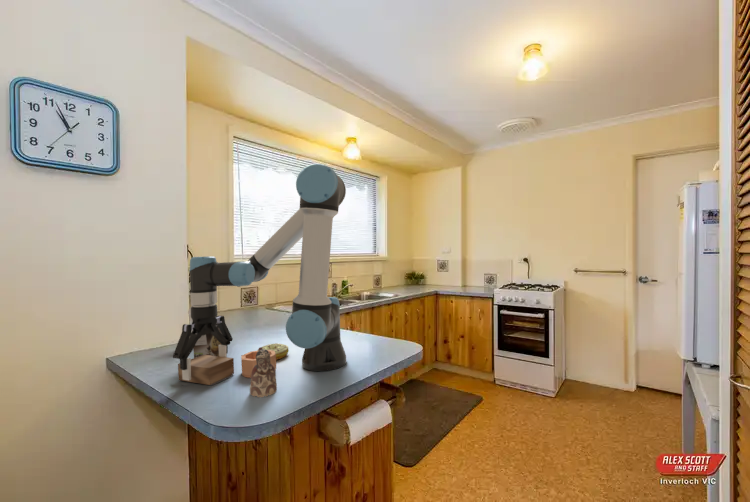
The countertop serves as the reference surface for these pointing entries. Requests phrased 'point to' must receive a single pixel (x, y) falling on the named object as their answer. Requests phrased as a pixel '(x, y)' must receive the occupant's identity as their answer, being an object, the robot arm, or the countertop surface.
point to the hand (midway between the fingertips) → (205, 371)
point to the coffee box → (207, 345)
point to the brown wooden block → (209, 369)
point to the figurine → (263, 375)
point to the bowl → (254, 362)
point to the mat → (221, 380)
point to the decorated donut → (277, 349)
